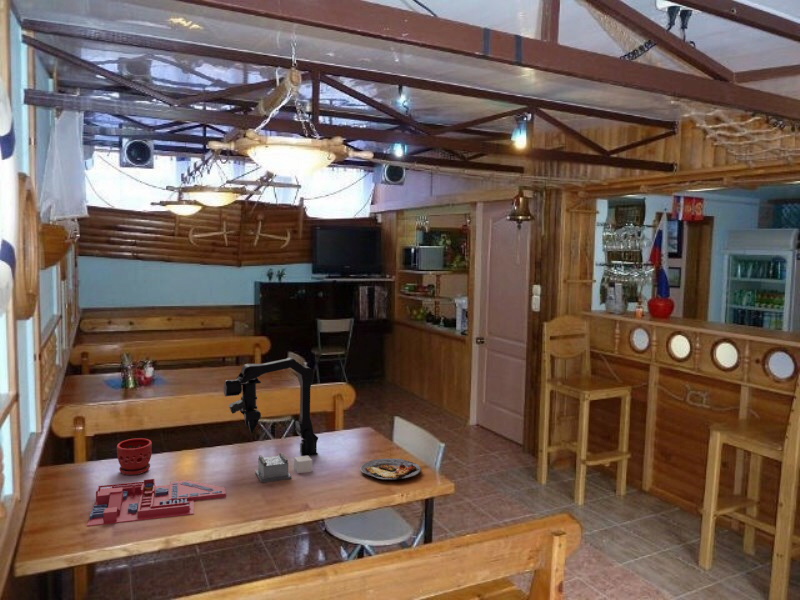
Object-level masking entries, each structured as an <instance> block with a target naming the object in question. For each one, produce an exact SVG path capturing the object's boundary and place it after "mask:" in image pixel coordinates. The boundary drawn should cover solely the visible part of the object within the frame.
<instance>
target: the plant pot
mask: <svg viewBox="0 0 800 600" xmlns="http://www.w3.org/2000/svg"><path fill="white" fill-rule="evenodd" d="M129 446H131V447H129ZM135 447H136V448H135ZM152 447H153V445H152V440H150V439H148V438H142V437H140V438H139V437H138V438H130V439H125V440H122V441H119V443H118V444H117V445H116V457H117V460H118V464H119V465H120V466H119V468H118V469H119V472H120V473H122V474H123V475H128V476H134V475H135V476H136V475H141V474H143V473H145V472H148V471H149V469H150V468H151V463H150V461H151V458H152V453H153V451H152Z"/></svg>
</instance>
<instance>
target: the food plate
mask: <svg viewBox="0 0 800 600" xmlns="http://www.w3.org/2000/svg"><path fill="white" fill-rule="evenodd" d="M359 469H360V471H361V474H362V473H363V474H365V475H367V476H371V477H374V478H376V479H380V480H384V481H385V480H386V481H396V480H397V481H398V480H405V479H407V478H411V477H414V476H417V475H419V474H420V472H421V471H422V468H421V466H420V465H418V464H417V463H416V462H412V461H409V460H407V459H402V458H378V459H372V460H369V461H367V462H364V463H363V464H362V465H361V466H360V468H359Z"/></svg>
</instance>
